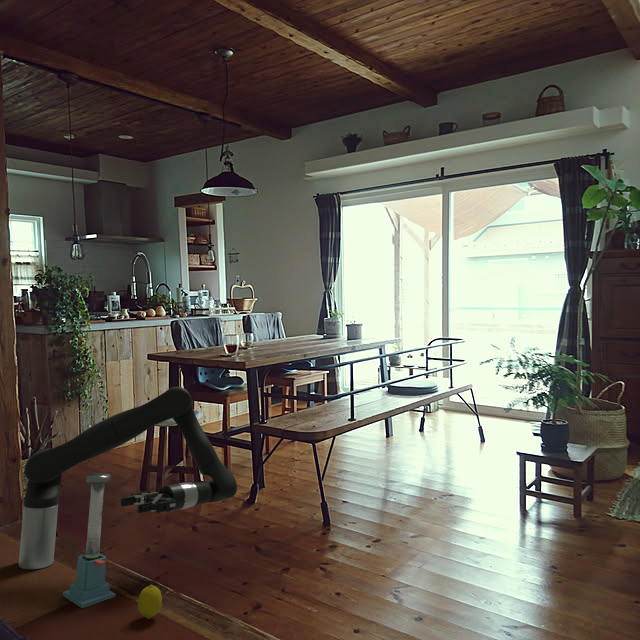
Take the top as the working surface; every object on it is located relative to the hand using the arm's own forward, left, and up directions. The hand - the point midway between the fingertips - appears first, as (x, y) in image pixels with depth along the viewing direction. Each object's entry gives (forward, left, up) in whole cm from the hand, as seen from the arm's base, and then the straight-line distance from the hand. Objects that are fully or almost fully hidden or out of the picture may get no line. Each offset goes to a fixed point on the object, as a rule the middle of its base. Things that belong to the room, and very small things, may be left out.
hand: (129, 505), depth 155 cm
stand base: (0, -10, -22) cm, 24 cm away
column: (0, -10, -15) cm, 18 cm away
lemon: (+21, -6, -22) cm, 31 cm away
